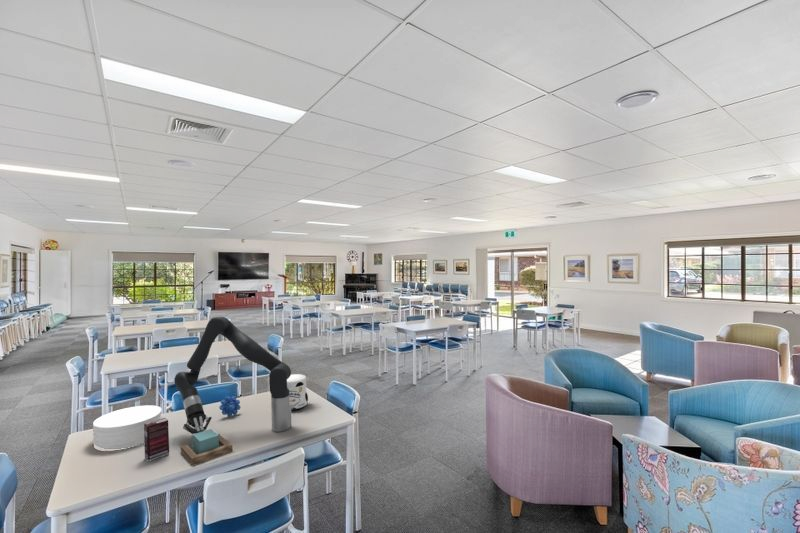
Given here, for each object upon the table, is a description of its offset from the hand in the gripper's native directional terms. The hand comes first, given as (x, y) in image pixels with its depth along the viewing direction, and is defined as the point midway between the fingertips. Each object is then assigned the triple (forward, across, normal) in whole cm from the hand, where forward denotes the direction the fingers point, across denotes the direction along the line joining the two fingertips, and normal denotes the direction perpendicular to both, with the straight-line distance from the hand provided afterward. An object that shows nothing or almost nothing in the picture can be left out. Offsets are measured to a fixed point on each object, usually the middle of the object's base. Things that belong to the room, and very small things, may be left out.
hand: (202, 439), depth 175 cm
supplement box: (-2, -17, +8) cm, 19 cm away
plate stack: (-25, -22, +31) cm, 45 cm away
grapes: (-17, +24, +23) cm, 37 cm away
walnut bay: (+7, 0, -2) cm, 7 cm away
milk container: (-7, +56, +13) cm, 58 cm away
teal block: (+7, 0, -1) cm, 7 cm away
